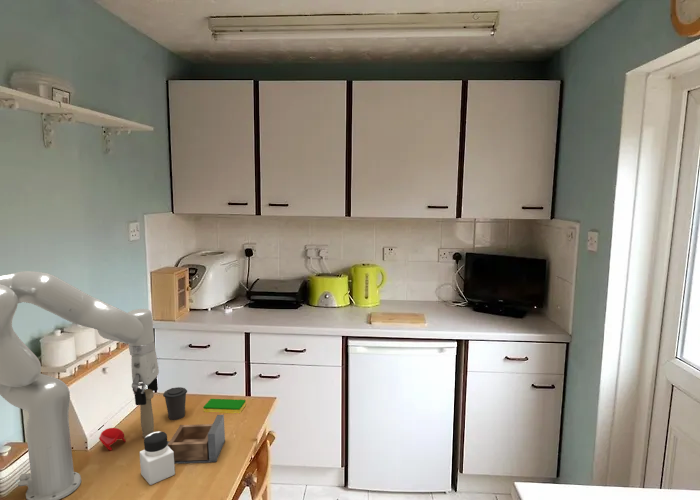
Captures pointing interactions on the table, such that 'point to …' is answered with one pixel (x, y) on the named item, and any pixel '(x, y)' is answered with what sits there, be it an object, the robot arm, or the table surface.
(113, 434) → the red curved legged piece
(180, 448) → the open wooden box
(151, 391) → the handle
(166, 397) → the coffee cup
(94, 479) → the table surface
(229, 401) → the dish sponge
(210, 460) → the track
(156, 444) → the medicine bottle
